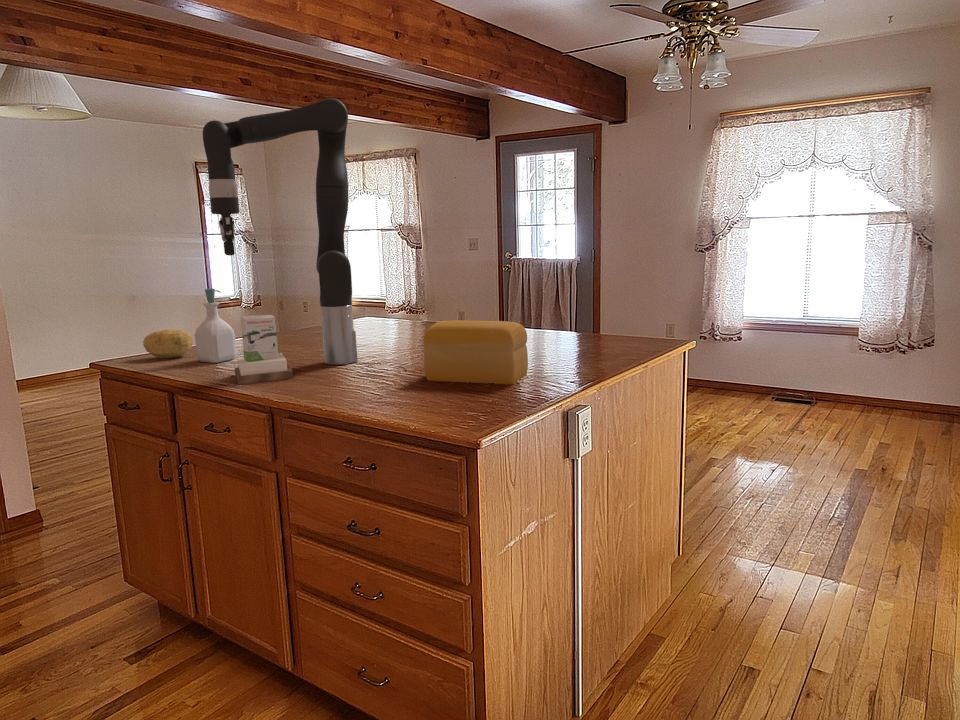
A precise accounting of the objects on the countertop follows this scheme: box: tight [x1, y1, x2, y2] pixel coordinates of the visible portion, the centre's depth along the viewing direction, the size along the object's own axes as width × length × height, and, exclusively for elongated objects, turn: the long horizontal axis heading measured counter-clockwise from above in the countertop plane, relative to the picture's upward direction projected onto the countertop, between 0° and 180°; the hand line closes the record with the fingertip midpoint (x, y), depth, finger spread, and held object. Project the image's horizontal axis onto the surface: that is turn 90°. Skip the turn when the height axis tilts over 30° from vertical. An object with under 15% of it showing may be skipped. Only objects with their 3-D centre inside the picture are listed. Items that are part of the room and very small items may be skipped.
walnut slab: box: [234, 364, 294, 386], centre depth 190 cm, size 14×14×3 cm
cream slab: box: [237, 352, 288, 376], centre depth 189 cm, size 12×12×3 cm
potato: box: [142, 329, 194, 359], centre depth 224 cm, size 10×14×10 cm
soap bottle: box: [194, 288, 238, 364], centre depth 215 cm, size 10×10×23 cm
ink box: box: [240, 314, 279, 362], centre depth 188 cm, size 9×5×12 cm, turn 118°
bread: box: [422, 319, 529, 385], centre depth 178 cm, size 24×13×15 cm, turn 69°
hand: (229, 255), depth 195 cm, fingers open, 8 cm apart
